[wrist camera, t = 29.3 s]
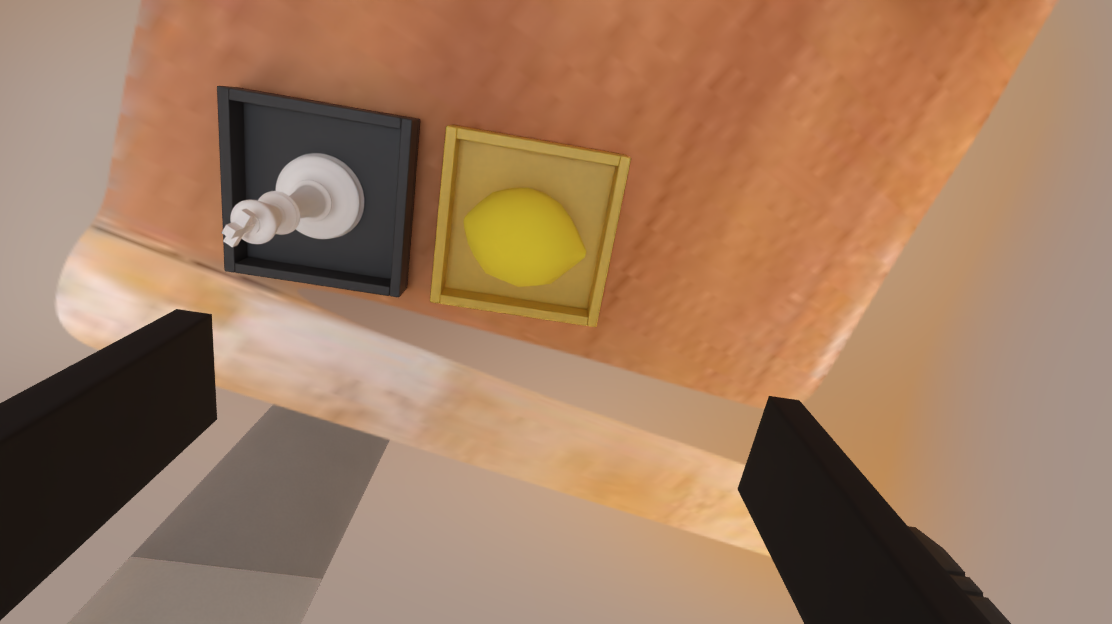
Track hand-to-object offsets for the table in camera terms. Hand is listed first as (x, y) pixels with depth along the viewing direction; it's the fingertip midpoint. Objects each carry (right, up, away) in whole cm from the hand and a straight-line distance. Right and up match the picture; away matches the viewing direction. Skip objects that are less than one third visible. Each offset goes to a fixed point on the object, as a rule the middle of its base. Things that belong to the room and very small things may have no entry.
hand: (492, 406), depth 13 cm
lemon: (0, +7, +20) cm, 21 cm away
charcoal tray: (-12, +9, +20) cm, 25 cm away
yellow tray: (0, +7, +20) cm, 22 cm away
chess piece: (-12, +9, +19) cm, 25 cm away
